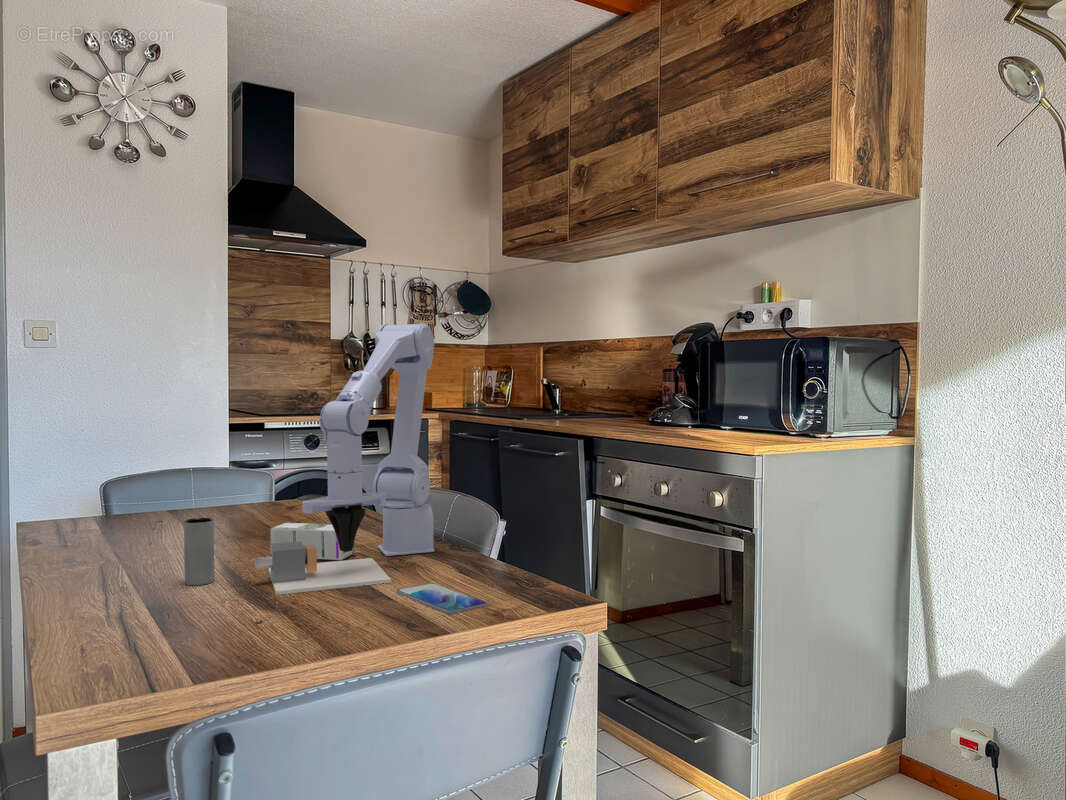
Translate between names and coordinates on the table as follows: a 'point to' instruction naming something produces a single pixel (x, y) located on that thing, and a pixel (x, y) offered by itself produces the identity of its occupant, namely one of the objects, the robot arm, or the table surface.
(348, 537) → the robot arm
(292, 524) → the syrup box
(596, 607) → the table surface
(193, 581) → the grey cylinder
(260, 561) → the shaft
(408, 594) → the smartphone
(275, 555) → the bearing block
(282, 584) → the mounting plate
